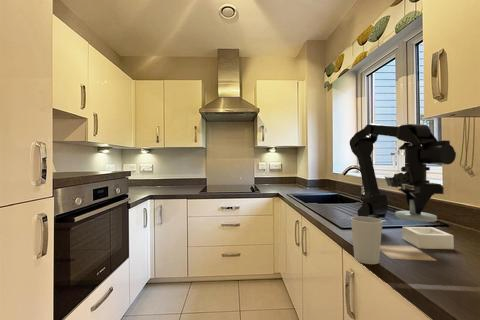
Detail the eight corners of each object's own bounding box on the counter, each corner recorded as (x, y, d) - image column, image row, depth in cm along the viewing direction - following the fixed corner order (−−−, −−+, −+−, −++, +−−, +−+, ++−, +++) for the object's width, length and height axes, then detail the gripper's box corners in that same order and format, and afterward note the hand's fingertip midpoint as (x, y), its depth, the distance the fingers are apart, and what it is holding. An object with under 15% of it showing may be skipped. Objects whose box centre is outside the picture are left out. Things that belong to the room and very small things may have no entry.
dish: (402, 240, 91) (402, 226, 91) (432, 241, 90) (432, 227, 90) (419, 250, 81) (419, 234, 81) (453, 251, 80) (453, 235, 80)
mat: (373, 247, 84) (373, 244, 84) (412, 248, 83) (412, 245, 83) (391, 261, 72) (391, 258, 72) (436, 263, 71) (436, 260, 71)
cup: (374, 257, 76) (374, 216, 76) (388, 268, 68) (388, 223, 68) (347, 256, 76) (346, 216, 76) (357, 268, 68) (357, 222, 68)
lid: (389, 213, 88) (389, 197, 88) (424, 214, 87) (424, 197, 87) (405, 221, 77) (405, 202, 77) (445, 222, 76) (445, 203, 76)
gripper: (377, 163, 92) (376, 206, 92) (402, 164, 74) (402, 218, 74) (410, 163, 91) (410, 207, 91) (445, 164, 72) (444, 220, 72)
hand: (415, 212), depth 82 cm, fingers closed on lid, 3 cm apart
